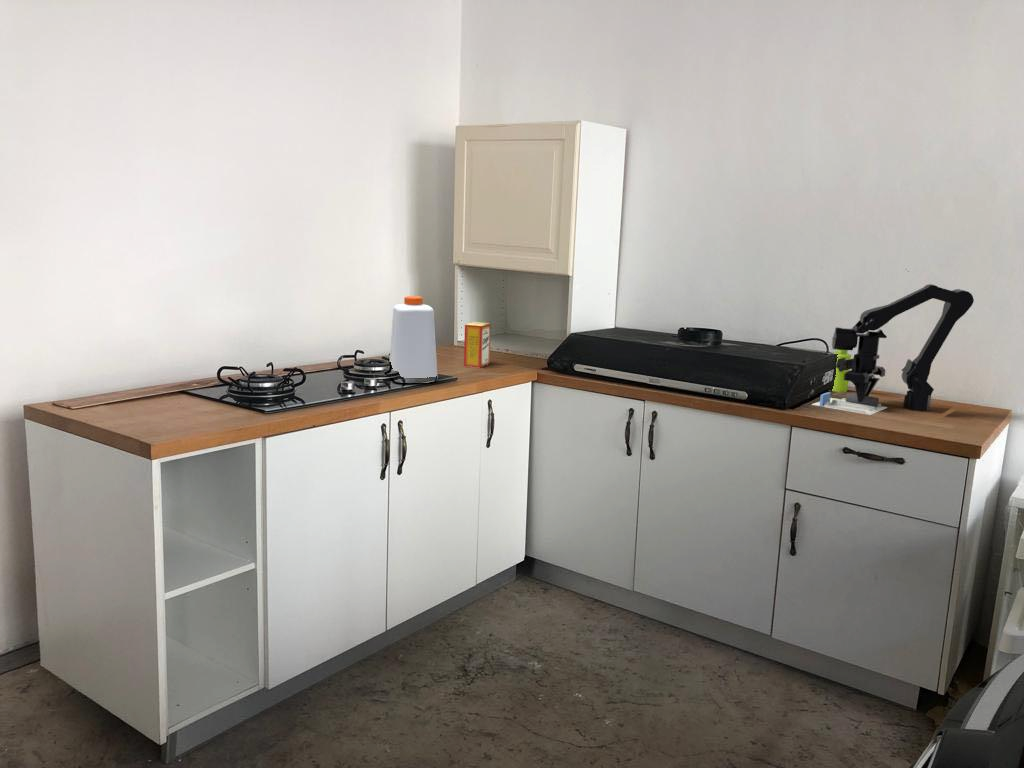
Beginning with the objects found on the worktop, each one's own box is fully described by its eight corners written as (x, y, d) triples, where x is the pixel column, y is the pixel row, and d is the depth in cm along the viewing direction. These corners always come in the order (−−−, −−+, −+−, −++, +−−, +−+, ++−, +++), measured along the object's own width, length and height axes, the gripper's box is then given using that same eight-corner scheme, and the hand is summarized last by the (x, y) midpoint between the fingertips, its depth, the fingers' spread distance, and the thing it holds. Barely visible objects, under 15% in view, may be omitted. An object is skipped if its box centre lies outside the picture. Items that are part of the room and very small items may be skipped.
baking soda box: (480, 368, 314) (481, 325, 311) (464, 366, 316) (464, 323, 313) (489, 364, 323) (490, 322, 320) (473, 362, 325) (474, 320, 322)
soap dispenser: (851, 395, 285) (858, 336, 282) (829, 394, 287) (836, 334, 283) (848, 392, 291) (854, 333, 287) (827, 390, 292) (833, 332, 288)
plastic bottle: (430, 375, 298) (431, 294, 292) (439, 383, 284) (441, 299, 278) (386, 376, 293) (386, 294, 288) (394, 385, 279) (394, 299, 274)
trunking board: (887, 410, 264) (889, 396, 263) (870, 418, 253) (871, 403, 252) (830, 400, 276) (831, 387, 275) (810, 407, 265) (812, 393, 264)
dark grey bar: (878, 406, 265) (879, 397, 264) (874, 408, 262) (875, 398, 262) (848, 401, 270) (849, 392, 270) (845, 403, 268) (846, 393, 268)
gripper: (852, 345, 275) (847, 392, 278) (829, 351, 262) (824, 400, 265) (888, 349, 268) (882, 398, 271) (866, 355, 254) (860, 407, 257)
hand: (862, 401), depth 266 cm, fingers closed on dark grey bar, 3 cm apart
